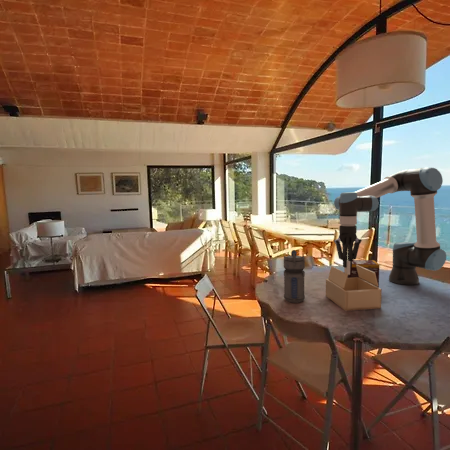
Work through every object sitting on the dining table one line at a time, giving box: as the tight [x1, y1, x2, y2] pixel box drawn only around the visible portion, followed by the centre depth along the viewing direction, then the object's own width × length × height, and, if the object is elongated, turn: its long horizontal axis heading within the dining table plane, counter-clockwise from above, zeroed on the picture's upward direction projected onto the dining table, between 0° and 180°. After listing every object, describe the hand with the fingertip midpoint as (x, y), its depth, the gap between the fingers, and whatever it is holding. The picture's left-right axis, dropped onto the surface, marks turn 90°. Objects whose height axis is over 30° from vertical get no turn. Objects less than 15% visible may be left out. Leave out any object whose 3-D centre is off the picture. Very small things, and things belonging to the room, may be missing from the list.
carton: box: [325, 277, 383, 312], centre depth 145 cm, size 17×21×9 cm
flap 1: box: [327, 265, 348, 288], centre depth 143 cm, size 1×16×7 cm, turn 6°
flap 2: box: [356, 265, 378, 286], centre depth 145 cm, size 1×16×7 cm, turn 5°
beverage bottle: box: [283, 249, 306, 304], centre depth 149 cm, size 10×13×25 cm
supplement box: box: [347, 259, 380, 288], centre depth 162 cm, size 10×15×16 cm
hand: (347, 273), depth 143 cm, fingers closed
